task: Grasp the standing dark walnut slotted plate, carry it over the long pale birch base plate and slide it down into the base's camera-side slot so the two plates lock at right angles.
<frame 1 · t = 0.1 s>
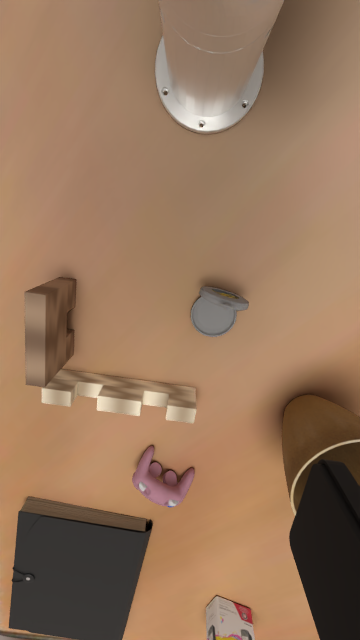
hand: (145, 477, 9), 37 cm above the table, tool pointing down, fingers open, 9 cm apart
file folder: (80, 563, 63), on the table
birch base plate: (126, 384, 49), on the table
plant pot: (305, 411, 50), on the table
walnut plate: (66, 317, 46), on the table
video game controller: (164, 465, 54), on the table
ink box: (227, 606, 65), on the table
pocket watch: (216, 306, 45), on the table
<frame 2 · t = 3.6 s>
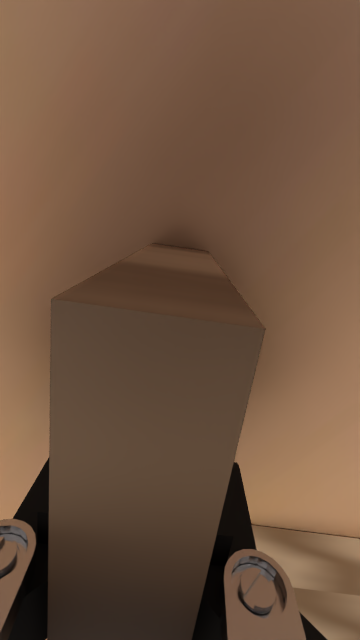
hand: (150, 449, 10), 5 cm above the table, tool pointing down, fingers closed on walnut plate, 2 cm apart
birch base plate: (311, 548, 18), on the table
walnut plate: (163, 373, 15), on the table, touching gripper
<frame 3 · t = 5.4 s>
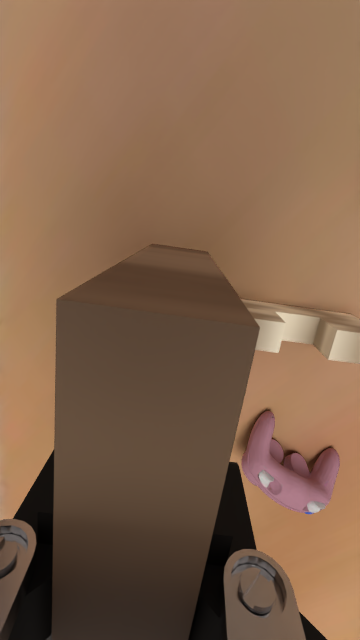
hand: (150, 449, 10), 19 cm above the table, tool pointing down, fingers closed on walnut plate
birch base plate: (230, 310, 28), on the table
walnut plate: (163, 372, 15), point 14 cm above the table, touching gripper
video game controller: (283, 444, 33), on the table
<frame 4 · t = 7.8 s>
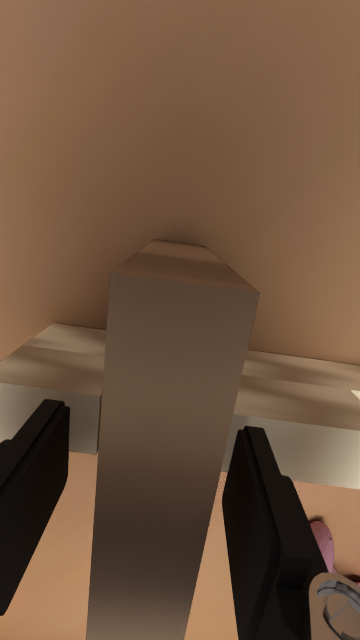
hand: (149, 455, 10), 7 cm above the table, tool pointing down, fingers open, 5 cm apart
birch base plate: (257, 372, 16), on the table
walnut plate: (164, 358, 16), on the table
video game controller: (339, 565, 21), on the table
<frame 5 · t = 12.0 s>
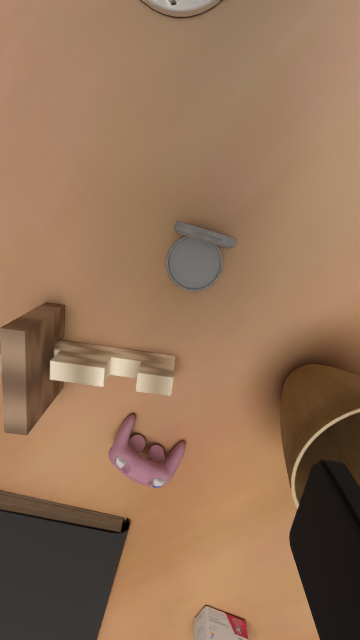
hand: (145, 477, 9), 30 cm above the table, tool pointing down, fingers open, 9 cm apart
file folder: (46, 567, 54), on the table
birch base plate: (92, 352, 41), on the table
plant pot: (308, 385, 42), on the table
walnut plate: (54, 347, 41), on the table
video game controller: (149, 438, 45), on the table
ink box: (219, 617, 56), on the table
pocket watch: (198, 253, 37), on the table
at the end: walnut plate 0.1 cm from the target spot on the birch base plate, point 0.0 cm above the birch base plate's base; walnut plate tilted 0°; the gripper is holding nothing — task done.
